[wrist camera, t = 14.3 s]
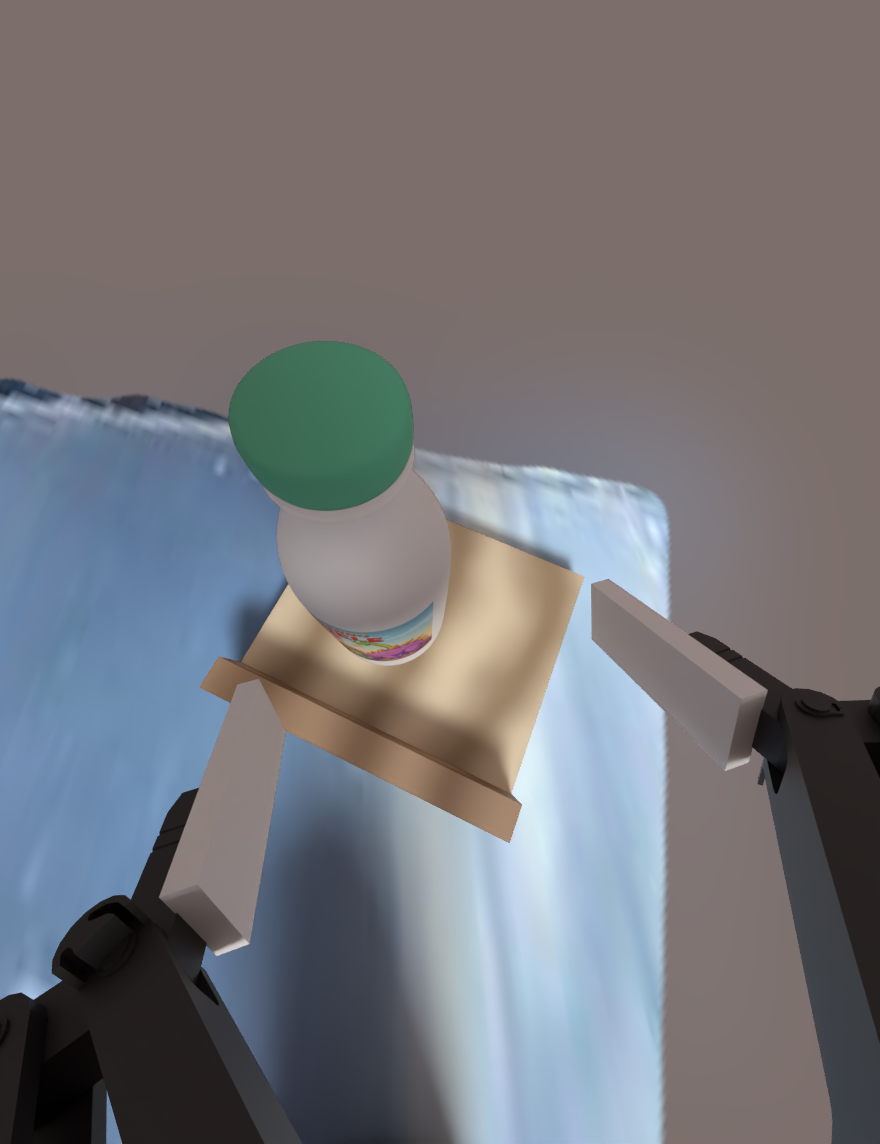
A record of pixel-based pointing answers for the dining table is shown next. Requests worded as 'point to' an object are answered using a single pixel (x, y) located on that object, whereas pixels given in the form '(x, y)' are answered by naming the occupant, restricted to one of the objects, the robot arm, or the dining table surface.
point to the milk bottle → (347, 495)
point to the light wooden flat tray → (427, 683)
